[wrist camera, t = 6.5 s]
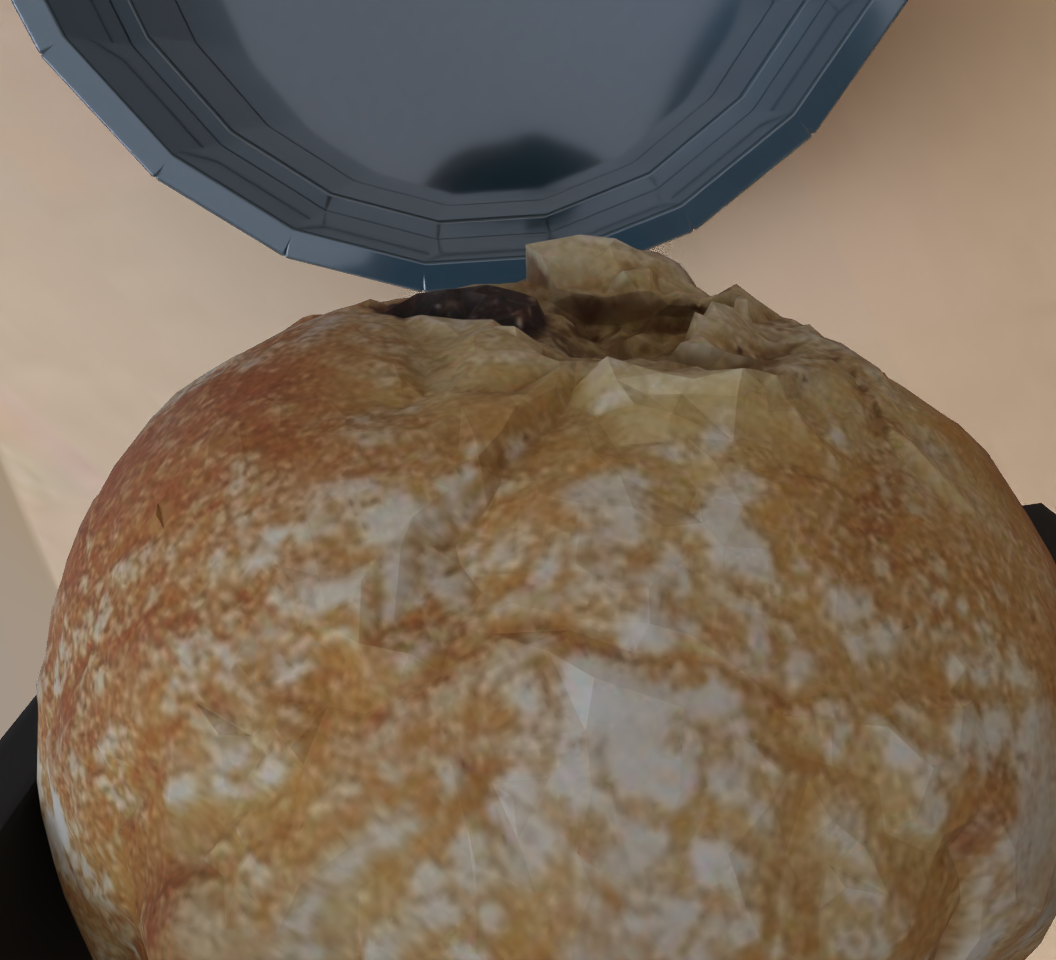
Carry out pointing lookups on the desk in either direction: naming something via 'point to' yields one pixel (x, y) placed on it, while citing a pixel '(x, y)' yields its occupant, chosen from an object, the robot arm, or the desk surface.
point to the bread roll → (553, 647)
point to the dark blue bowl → (457, 115)
